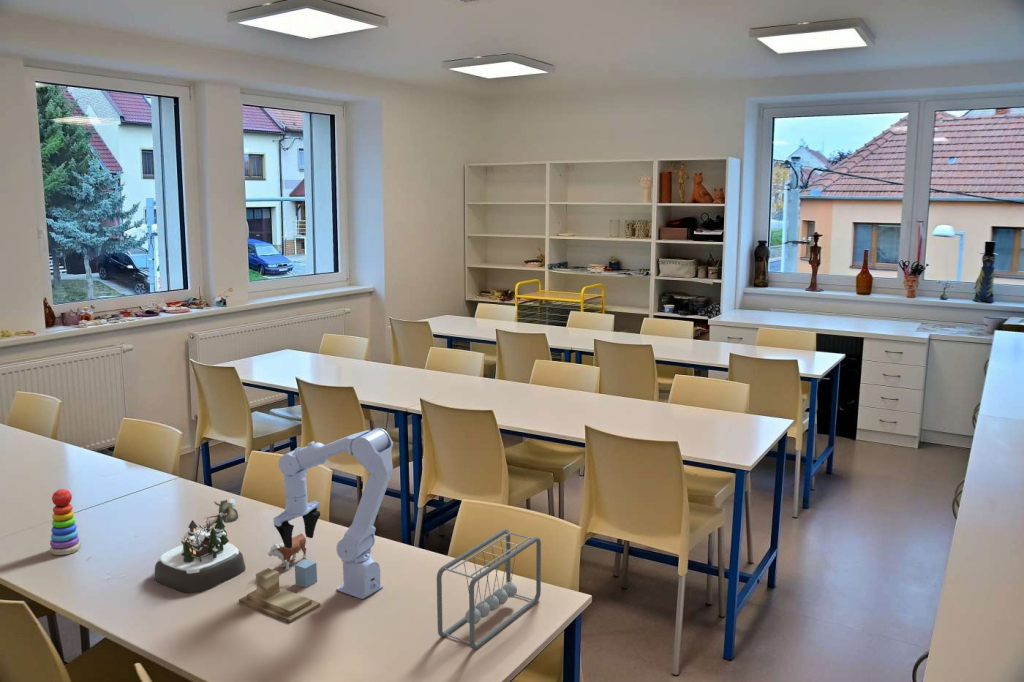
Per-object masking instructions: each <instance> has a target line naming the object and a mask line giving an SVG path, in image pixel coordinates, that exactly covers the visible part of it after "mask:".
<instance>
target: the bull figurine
mask: <svg viewBox="0 0 1024 682" xmlns="http://www.w3.org/2000/svg"><path fill="white" fill-rule="evenodd" d="M306 539H307V537H306V536H304V534H303V533H299V534H297V535H296V536H292V548H287V547H285V546H284V543H283V542H280V543H279V544H277V543H274V544H273V545H272V546H271V547H270V550H269V552H267V554H268V556H269V557H272V556H274V557H277V558H278V560H280V561H281V562H282V565H281V567H282V568H285V569H284V571H286V572H287V571H289V570H290V566H289V565H290V562H291V561H293V562H294V561H295V559H297V557H296V555H297V554H299V553H300V552H301V551H302V553H303V555H302V560H305V559H306V558H307V548H306V544H307V542H306V541H307V540H306Z"/></svg>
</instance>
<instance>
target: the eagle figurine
mask: <svg viewBox="0 0 1024 682" xmlns="http://www.w3.org/2000/svg"><path fill="white" fill-rule="evenodd" d="M213 503H214V504H215V505H216V506H218V515H220V516H221V517H222V518H224V516H225V515H226V518H225V523H229V522H230V523H233V522H232V521H234V522H236V521H237V520H238V518H239V514H238V511H237V509H235V508H234V507H236V506H237V504H236V500H235V499H234V498H231V497H230V498H229V499H228V500H227V499H224V500H221V501H220V502H219V503H218V502H217V501H213ZM235 520H236V521H235Z"/></svg>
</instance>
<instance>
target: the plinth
mask: <svg viewBox="0 0 1024 682" xmlns="http://www.w3.org/2000/svg"><path fill="white" fill-rule="evenodd" d="M238 603H240V604H242V605H244V606H247V607H249V608H252V609H254V610H256V611H259V612H261V613H265V614H266V615H269V616H272V617H274V618H276V619H279V620H281V621H284V622H286V623H289V624H291V623H293V622H295V621H297V620H298V619H300V618H301V617H303V616H305V615H307V614H309V613H311V612H312V611H314V610H315V609H317V608H319V607H321V602H319V601H316V600H314V599H311V598H309V597H306V596H304V595H300V594H297V593H296V592H292V591H289V590H288V589H285V588H282V587H280V592H278V593H276V594H274V595H272V596H271V597H269V598H266V597H264V596H261V595H258V594H257V589H255V590H253V591H251V592H249V593H247V594H246V595H245V596H243V597H241V598H238Z"/></svg>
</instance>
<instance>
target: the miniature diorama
mask: <svg viewBox="0 0 1024 682" xmlns="http://www.w3.org/2000/svg"><path fill="white" fill-rule="evenodd" d="M223 521H224V519H223V517H221V514H217V517H216V519H215V524H214V525H213V526H212V527H211V520H210V519H209V518H207V520H206V521H205V522H206V527H205V526H203V525H202V524H200V523H197V524H196V522H195V520H193V519H192V520H191V521H190V523H189V525H188V527H187V528H188V529H187V530H186V532H185V533H184V535H183V536H182V538H181V540H180V542H181V545H178V546H176V547H173V548H172V549H169V550H168V551H166V552H164V553H162V554H161V555H160V556H159V558H158V560H157V562H156V563H155V565H154V574H153V580H154V582H155V583H156V584H158V585H161V586H163V587H166V588H168V589H170V590H173V591H175V592H177V593H181V594H186V595H191V594H192V595H194V594H199V593H200V594H201V593H203V592H206V591H209V590H211V589H213V588H215V587H217V586H219V585H222V584H223V583H225V582H227V581H230V580H233V579H234V578H236V577H238V576H239V575H241V574H243V573H245V571H246V563H245V559H244V556H243V553H242V552H241V551H240V550H239V549H238V548H237V547H236V546H235V545H234V544H232V543H229V542H230V540H229V539H228V538H227V537H228V532H227V531H226V529H225V528H226V526H225V524H224V522H223ZM197 528H200V529H197ZM201 529H203V531H202V530H201Z"/></svg>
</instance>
